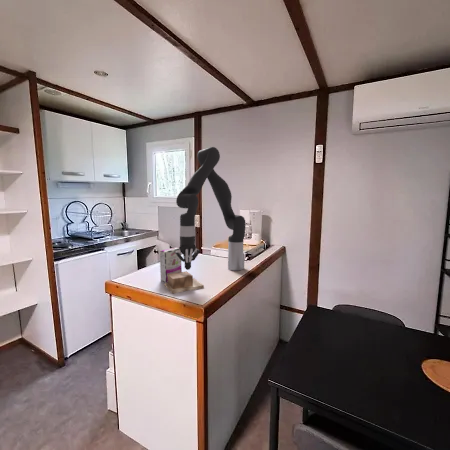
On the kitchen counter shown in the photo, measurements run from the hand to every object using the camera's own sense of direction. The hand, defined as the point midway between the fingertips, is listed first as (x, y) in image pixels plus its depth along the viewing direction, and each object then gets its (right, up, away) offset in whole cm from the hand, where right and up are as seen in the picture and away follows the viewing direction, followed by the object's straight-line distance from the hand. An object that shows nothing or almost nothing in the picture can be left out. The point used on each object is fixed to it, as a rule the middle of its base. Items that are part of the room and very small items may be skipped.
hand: (187, 269), depth 127 cm
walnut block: (+1, -5, +1) cm, 5 cm away
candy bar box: (-11, -7, +11) cm, 17 cm away
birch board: (-2, -9, 0) cm, 9 cm away
